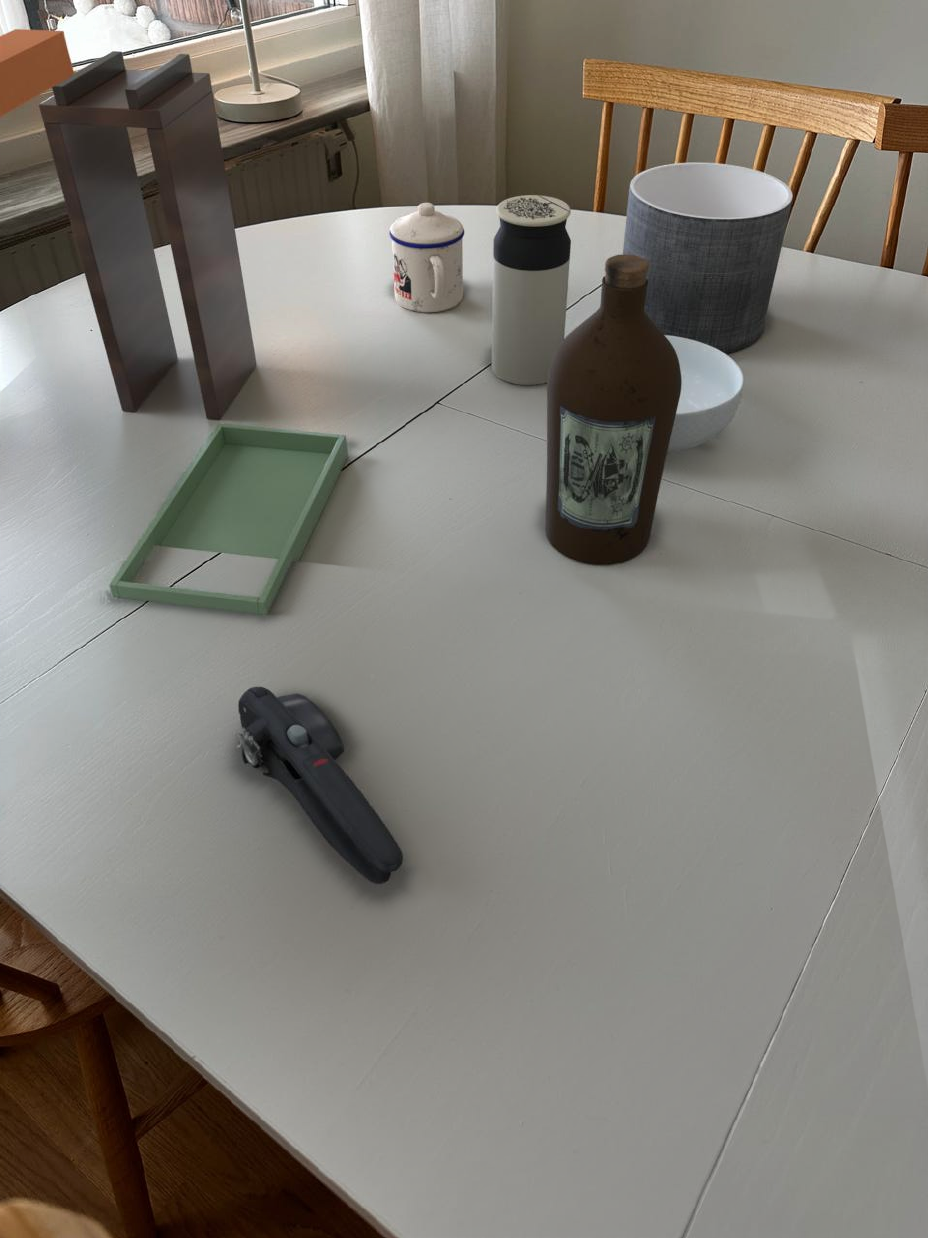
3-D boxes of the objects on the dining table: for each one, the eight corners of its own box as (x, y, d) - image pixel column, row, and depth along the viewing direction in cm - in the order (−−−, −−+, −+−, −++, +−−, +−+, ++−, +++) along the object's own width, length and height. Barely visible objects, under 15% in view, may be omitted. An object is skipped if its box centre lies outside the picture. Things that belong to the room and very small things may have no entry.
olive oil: (548, 492, 93) (566, 228, 76) (660, 507, 91) (704, 240, 74) (528, 562, 85) (543, 285, 68) (650, 579, 84) (697, 300, 67)
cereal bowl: (698, 385, 108) (709, 325, 103) (757, 469, 96) (772, 405, 91) (549, 399, 106) (552, 338, 101) (589, 486, 94) (596, 422, 89)
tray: (116, 607, 81) (108, 584, 80) (222, 444, 100) (218, 422, 98) (268, 625, 80) (264, 602, 78) (348, 456, 98) (346, 434, 96)
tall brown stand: (121, 411, 104) (32, 84, 83) (166, 357, 113) (95, 49, 92) (220, 420, 103) (154, 90, 82) (257, 365, 112) (206, 54, 90)
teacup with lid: (387, 287, 127) (381, 194, 119) (455, 280, 128) (454, 188, 120) (405, 328, 118) (400, 232, 110) (478, 320, 120) (478, 224, 112)
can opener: (221, 745, 70) (206, 691, 66) (307, 703, 73) (298, 650, 69) (344, 929, 60) (335, 877, 56) (439, 871, 63) (437, 819, 59)
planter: (760, 296, 124) (787, 166, 114) (767, 363, 112) (798, 224, 101) (619, 286, 127) (633, 158, 116) (610, 350, 114) (625, 213, 103)
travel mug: (510, 393, 107) (515, 227, 94) (479, 361, 112) (481, 200, 100) (574, 378, 109) (587, 214, 97) (541, 347, 114) (550, 188, 102)
